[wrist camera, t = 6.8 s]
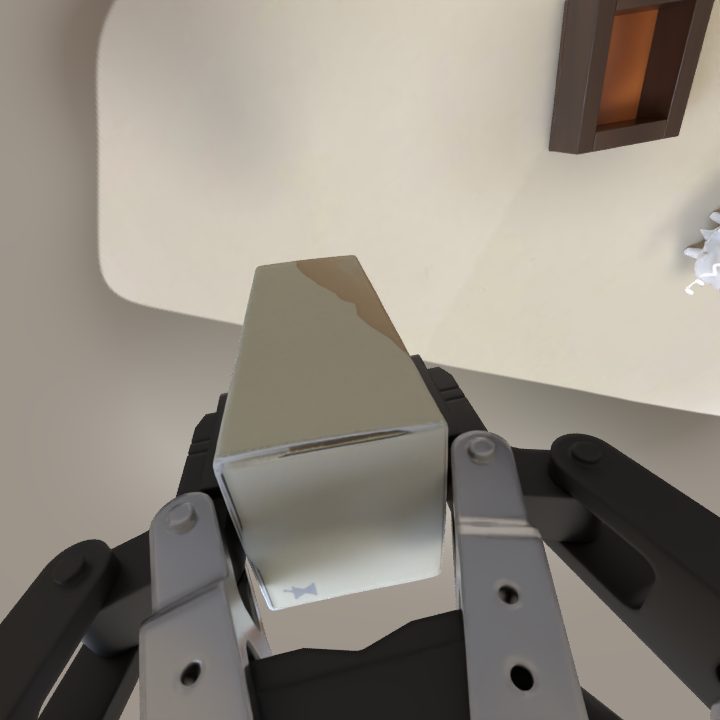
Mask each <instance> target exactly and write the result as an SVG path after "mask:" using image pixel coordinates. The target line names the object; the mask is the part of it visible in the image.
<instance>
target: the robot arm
mask: <svg viewBox="0 0 720 720" xmlns="http://www.w3.org/2000/svg"><path fill="white" fill-rule="evenodd" d="M410 357H411V359H412V361H413V362H414V364H415V366H416V368H417V369H418V371H419V373H420V375H421V377H422V379H423V381H424V383H425V385H426V387H427V389H428V391H429V392H430V394H431V396H432V398H433V399H434V401H435V403H436V405H437V407H438V408H439V410H440V412H441V414H442V415H443V417H444V419H445V421H446V422H447V425H448V466H447V498H446V501H447V503H448V506H449V508H450V511H451V525H452V541H453V542H452V543H453V560H454V577H455V596H456V610H454V611H450V612H446V613H442V614H438V615H434V616H430V617H426V618H422V619H418V620H414V621H411V622H409V623H407V624H406V625H404V626H402V627H401V628H399V629H397V630H395V631H394V632H392V633H390V634H389V635H387V636H385V637H384V638H382V639H380V640H379V641H377V642H375V643H373V644H372V645H370V646H368V647H367V648H365V649H363V650H359V651H346V650H328V649H312V648H302V649H298V650H294V651H290V652H286V653H282V654H278V655H274V656H273V654H272V652H271V649H270V646H269V643H268V640H267V637H266V634H265V630H264V626H263V623H262V619H261V615H260V611H259V608H258V604H257V600H256V596H255V593H254V589H253V585H252V582H251V578H250V574H249V570H248V568H247V565H246V564H245V560H246V554H245V551H244V549H243V546H242V544H241V541H240V539H239V536H238V534H237V531H236V529H235V526H234V524H233V521H232V519H231V516H230V514H229V511H228V509H227V506H226V503H225V500H224V498H223V495H222V492H221V489H220V486H219V484H218V481H217V478H216V476H215V473H214V469H213V460H214V456H215V452H216V447H217V441H218V437H219V432H220V427H221V423H222V418H223V414H224V410H225V405H226V401H227V396H228V393H224V394H221V395H220V399H219V403H218V407H217V412H215V413H211V414H206V415H205V416H204V417H203V419H202V420H201V421H200V423H199V424H198V425H197V426H196V428H195V431H194V434H193V439H192V444H191V445H190V449H189V452H188V454H189V456H187V459H186V463H185V466H184V470H183V474H182V477H181V481H180V484H179V488H178V492H177V495H176V498H175V499H173V500H171V501H170V502H168V503H167V504H166V505H164V506H163V507H162V508H161V509H160V510H159V512H158V513H157V514H156V515H155V517H154V519H153V520H152V522H151V526H150V529H149V530H148V531H147V532H145V533H143V534H141V535H139V536H137V537H135V538H133V539H131V540H129V541H127V542H125V543H123V544H121V545H119V546H117V547H115V548H113V549H110V548H109V547H108V546H107V544H106V543H105V542H103V541H101V540H96V539H95V540H86V541H82V542H80V543H77V544H75V545H73V546H71V547H69V548H67V549H66V550H64V551H63V552H61V553H60V554H59V555H57V556H56V557H55V558H54V559H53V560H52V561H51V562H50V563H49V564H48V565H47V566H46V567H45V568H44V569H43V570H42V572H41V573H40V574H39V576H38V577H37V578H36V579H35V581H34V582H33V583H32V585H31V586H30V587H29V588H28V590H27V591H26V592H25V593H24V595H23V596H22V597H21V599H20V600H19V601H18V602H17V604H16V605H15V606H14V608H13V609H12V610H11V611H10V613H9V614H8V615H7V617H6V618H5V619H4V620H3V621H2V623H1V624H0V720H37V719H38V720H119V718H120V716H121V714H122V712H123V710H124V708H125V706H126V704H127V701H128V699H129V697H130V695H131V693H132V691H133V689H134V687H135V685H136V683H137V680H138V678H139V681H140V720H623V719H622V718H620V717H619V716H618V715H617V714H615V713H614V712H613V711H611V710H610V709H609V708H608V707H606V706H605V705H604V704H603V703H601V702H600V701H599V700H597V699H596V698H595V697H594V696H592V695H591V694H590V693H589V692H587V691H586V690H585V689H583V688H582V687H581V686H580V684H579V680H578V676H577V673H576V669H575V665H574V661H573V657H572V653H571V649H570V645H569V641H568V637H567V634H566V630H565V626H564V623H563V618H562V615H561V610H560V607H559V603H558V599H557V595H556V591H555V587H554V583H553V579H552V576H551V572H550V568H549V564H548V560H547V556H546V552H545V549H544V545H543V541H544V542H545V543H546V544H547V545H548V546H549V547H550V548H551V549H552V550H553V551H554V552H555V553H556V554H557V555H558V556H559V557H560V558H561V559H562V560H563V561H564V562H565V563H566V564H567V565H568V566H569V567H570V568H571V569H572V570H573V571H574V572H575V573H576V574H577V575H578V576H579V577H580V578H581V580H583V581H584V583H585V584H586V585H587V586H588V587H590V589H591V590H592V591H593V592H594V593H595V594H596V595H597V596H598V597H599V598H600V599H601V600H602V601H603V602H604V603H605V604H606V605H607V606H608V607H609V608H610V609H611V610H612V611H613V612H614V613H615V614H616V615H617V616H618V617H619V618H620V619H621V620H622V621H623V622H624V623H625V624H626V625H627V626H628V627H629V628H630V629H631V630H632V631H633V632H634V633H635V634H636V635H637V636H638V637H639V638H640V639H641V640H642V641H643V642H644V643H645V644H646V645H647V646H648V647H649V648H650V649H651V650H652V651H653V652H654V653H655V654H656V655H657V656H658V657H659V658H660V659H661V660H662V661H663V662H664V663H665V664H666V665H667V666H668V667H669V669H671V671H672V672H673V673H674V674H676V676H677V677H678V678H679V679H680V680H681V681H682V682H683V683H684V684H685V685H686V686H687V687H688V688H689V689H690V690H691V691H692V692H693V693H695V695H696V696H697V697H698V698H699V699H700V700H701V701H702V702H703V703H704V704H705V705H706V706H707V707H708V708H709V709H710V710H711V714H710V717H711V720H720V517H718V516H717V515H715V514H714V513H712V512H711V511H709V510H708V509H706V508H705V507H703V506H702V505H700V504H699V503H697V502H696V501H694V500H693V499H691V498H690V497H688V496H687V495H685V494H683V493H682V492H680V491H679V490H677V489H676V488H674V487H673V486H671V485H670V484H668V483H667V482H665V481H664V480H662V479H661V478H659V477H658V476H656V475H655V474H653V473H652V472H650V471H649V470H647V469H646V468H644V467H643V466H641V465H640V464H638V463H637V462H635V461H634V460H632V459H631V458H629V457H627V456H626V455H625V454H623V453H622V452H620V451H618V450H617V449H615V448H614V447H612V446H611V445H609V444H608V443H606V442H605V441H603V440H601V439H598V438H596V437H593V436H590V435H585V434H567V435H563V436H561V437H559V438H557V439H556V440H555V441H554V442H553V444H552V446H551V450H536V449H519V448H515V447H511V446H510V445H509V444H508V443H507V441H506V440H504V439H503V438H502V437H500V436H498V435H496V434H494V433H491V432H488V431H487V429H486V428H485V426H484V424H483V423H482V421H481V420H480V418H479V417H478V415H477V414H476V412H475V410H474V409H473V407H472V406H471V404H470V403H469V401H468V400H467V398H466V397H465V395H464V393H463V392H462V390H461V389H460V388H459V386H458V384H457V383H456V381H455V379H454V378H453V376H452V375H451V374H449V373H448V372H446V371H445V370H443V369H441V368H440V367H435V368H430V369H427V368H426V366H425V364H424V362H423V361H422V359H421V357H420V355H418V354H417V355H412V356H410ZM542 540H543V541H542ZM80 642H83V646H82V647H81V649H80V651H79V652H78V654H77V655H76V657H75V659H74V660H73V662H72V664H71V665H70V667H69V669H68V671H67V672H66V674H65V676H64V677H63V679H62V680H61V682H60V684H59V685H58V687H57V689H56V690H55V692H54V693H53V695H52V697H51V698H50V700H49V702H48V704H47V705H46V707H45V708H44V710H43V712H42V713H41V715H40V717H39V718H38V715H39V711H40V709H41V706H42V704H43V702H44V700H45V699H46V697H47V695H48V694H49V692H50V690H51V689H52V687H53V685H54V684H55V682H56V681H57V679H58V677H59V676H60V674H61V672H62V671H63V669H64V668H65V666H66V664H67V663H68V661H69V660H70V658H71V656H72V655H73V653H74V651H75V649H76V648H77V647H78V645H79V643H80Z"/></svg>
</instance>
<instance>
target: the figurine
mask: <svg viewBox="0 0 720 720" xmlns="http://www.w3.org/2000/svg"><path fill="white" fill-rule="evenodd" d="M709 218H710V219H712V220H713V221H715V222H716V223H718V224H720V213H719V212H713V213H712V214H711V215H710V217H709ZM700 231H701V233H702V235H703V236H704V238H705V240H706V241H705V244H704V247H703V249H701V248H687V249H686V250H685V251H684V254H686V255H688V256H690V257H693V258H695V259H697V260H696V263H695V274H696V276H697V278H698V279H696V280H695V281H694V283H697V284H699V285H701V286H703V285H704V284H705V283H704V282H706V283H708V284H710V285H712V286H714V287H715V288H716V289H718V290H720V226H718V227H717V228H715V229H714V230H700ZM699 279H700V280H702V281H704V282H702V281H700V280H699ZM694 283H692V284H694ZM692 284H690V285H689V286H688V287H687V288H686V290H685V291H686V292H687V293H689V294H690V295H692V294H693V293H695V292H693V291H691V290H690V289H689V287H690V286H691V285H692Z"/></svg>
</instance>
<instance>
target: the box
mask: <svg viewBox="0 0 720 720" xmlns="http://www.w3.org/2000/svg"><path fill="white" fill-rule="evenodd" d="M447 466H448V425H447V422H446V421H445V419H444V417H443V415H442V414H441V412H440V410H439V408H438V407H437V405H436V403H435V401H434V399H433V398H432V396H431V394H430V392H429V391H428V389H427V387H426V385H425V383H424V381H423V379H422V377H421V375H420V373H419V371H418V369H417V368H416V366H415V364H414V362H413V361H412V359H411V357H410V355H409V353H408V351H407V350H406V348H405V346H404V344H403V342H402V340H401V338H400V336H399V334H398V333H397V331H396V329H395V327H394V325H393V324H392V322H391V320H390V318H389V316H388V314H387V312H386V311H385V309H384V307H383V305H382V303H381V301H380V299H379V297H378V295H377V293H376V292H375V290H374V288H373V286H372V284H371V282H370V281H369V279H368V277H367V275H366V274H365V272H364V270H363V268H362V266H361V265H360V263H359V261H358V259H357V257H356V256H354V255H349V256H338V257H328V258H317V259H309V260H300V261H292V262H285V263H278V264H270V265H264V266H259V267H257V268H256V270H255V274H254V279H253V283H252V288H251V293H250V297H249V301H248V305H247V310H246V314H245V319H244V324H243V328H242V333H241V338H240V342H239V347H238V351H237V356H236V360H235V365H234V369H233V373H232V378H231V383H230V387H229V392H228V396H227V401H226V405H225V410H224V414H223V418H222V423H221V427H220V432H219V437H218V441H217V447H216V452H215V456H214V460H213V469H214V473H215V476H216V478H217V481H218V484H219V486H220V489H221V492H222V495H223V498H224V500H225V503H226V506H227V509H228V511H229V514H230V516H231V519H232V521H233V524H234V526H235V529H236V531H237V534H238V536H239V539H240V541H241V544H242V546H243V549H244V551H245V554H246V556H247V558H248V561H249V563H250V566H251V568H252V570H253V572H254V575H255V577H256V580H257V582H258V584H259V586H260V589H261V591H262V594H263V596H264V598H265V600H266V602H267V605H268V607H269V608H270V609H271V610H280V609H284V608H287V607H292V606H296V605H300V604H304V603H309V602H314V601H318V600H324V599H328V598H333V597H337V596H342V595H346V594H352V593H357V592H361V591H366V590H371V589H376V588H381V587H386V586H391V585H397V584H403V583H408V582H412V581H417V580H421V579H426V578H429V577H433V576H436V575H438V574H440V572H441V568H442V559H443V546H444V534H445V521H446V498H447Z"/></svg>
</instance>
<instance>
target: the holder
mask: <svg viewBox="0 0 720 720" xmlns="http://www.w3.org/2000/svg"><path fill="white" fill-rule="evenodd" d="M713 3H714V0H567V1H565V7H564V16H563V25H562V34H561V43H560V53H559V62H558V71H557V80H556V89H555V98H554V108H553V117H552V126H551V135H550V144H549V151H555V152H562V153H569V154H576V155H577V154H583V153H588V152H594V151H600V150H605V149H610V148H616V147H621V146H627V145H632V144H638V143H643V142H649V141H654V140H660V139H665V138H670V137H676V136H678V135H679V132H680V128H681V124H682V120H683V116H684V113H685V109H686V105H687V101H688V97H689V94H690V90H691V86H692V82H693V79H694V75H695V71H696V67H697V63H698V60H699V56H700V52H701V48H702V44H703V41H704V37H705V33H706V29H707V26H708V22H709V18H710V14H711V10H712V7H713Z"/></svg>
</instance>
